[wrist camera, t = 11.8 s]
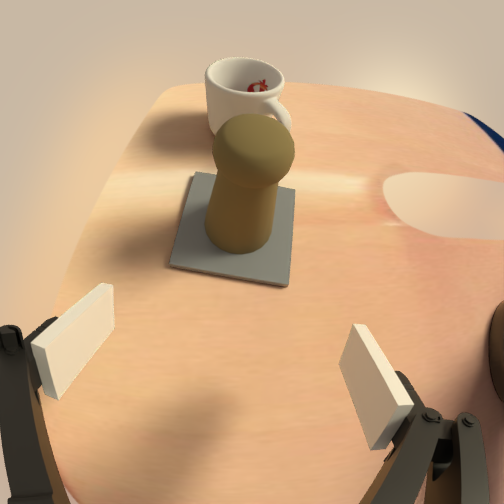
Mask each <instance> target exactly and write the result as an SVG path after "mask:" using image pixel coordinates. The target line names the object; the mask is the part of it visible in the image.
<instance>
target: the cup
mask: <svg viewBox="0 0 504 504" xmlns="http://www.w3.org/2000/svg"><path fill="white" fill-rule="evenodd" d="M284 84H285V80H284V77H283V75H282V73H281V72H280V71H279V70H278V69H277V68H275V67H274V66H272V65H270V64H268V63H266V62H264V61H261V60H257V59H252V58H246V57H231V58H225V59H221V60H218V61H216V62H214V63H212V64H211V65H210V66H209V67H208V68H207V70H206V72H205V86H206V99H207V112H208V122H209V126H210V129H211V131H212V132H213V134H214V135H216V133H217V131H218V130H219V129H220V127H221V126H222V125H223V124H224V123H225V122H226V121H227V120H229V119H231V118H232V117H234V116H238V115H241V114H252V113H254V114H260V115H265V116H268V117H271V118H272V115H274V116H275V117H276V119H277V121H278V122H280V123H282V124H283V125H284V126H285V127H286V128H287V129H288V131H289V133H290V130H291V117H290V115H289V113H288V111H287V110H286V109H285V107H284V106H283V105H282V104H281V103H280V102H278V100H279V97H280V95H281V93H282V90H283V88H284Z"/></svg>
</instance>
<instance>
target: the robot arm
mask: <svg viewBox="0 0 504 504" xmlns="http://www.w3.org/2000/svg"><path fill="white" fill-rule="evenodd" d="M114 329H115V324H114V297H113V285H111V284H106V283H102V282H101V283H100V284H99V285H98V286H96V287H95V288H94V289H93V290H91V291H90V292H89V293H88V294H87V295H85V296H84V297H83V298H82V299H80V300H79V301H78V302H77V303H76V304H74V305H73V306H72V307H71V308H70V309H68V310H67V311H66V312H65V313H64V314H63V315H61V316H60V317H56V316H55V317H53V318H50V319H48V320H46V321H45V322H44V323H43V324H41V326H39V327H38V328H37V329H36V331H33V332H32V333H31V334H30V335H29V336H27V337H26V338H25V339H24V340H23V336H22V332H21V330H20V328H19V327H18V326H15V325H5V326H2V327H0V431H1V440H2V448H3V455H4V461H5V467H6V471H7V476H8V482H9V486H10V490H11V498H8V504H70V501H69V499H68V496H67V493H66V491H65V488H64V485H63V483H62V480H61V477H60V474H59V471H58V468H57V465H56V462H55V459H54V455H53V452H52V448H51V445H50V441H49V437H48V433H47V429H46V425H45V421H44V416H43V412H42V407H41V402H40V396H39V393H38V388H39V387H40V386H41V385H42V387H43V390H44V393H45V395H48V396H50V397H52V398H54V399H57V400H59V399H60V398H61V396H62V395H63V394H64V392H65V391H66V390H67V388H68V387H69V386H70V384H71V383H72V382H73V380H74V379H75V378H76V377H77V375H78V374H79V373H80V371H81V370H82V369H83V367H84V366H85V365H86V364H87V362H88V361H89V360H90V358H91V357H92V356H93V355H94V353H95V352H96V351H97V350H98V348H99V347H100V346H101V345H102V343H103V342H104V341H105V340H106V338H107V337H108V336H109V335H110V333H111V332H112V331H113V330H114ZM489 357H490V368H491V374H492V378H493V382H494V386H495V389H496V391H497V393H498V395H499V397H500V399H501V400H502V401H503V403H504V301H502V302H501V303H500V305H499V306H498V308H497V310H496V312H495V314H494V317H493V321H492V325H491V331H490V341H489ZM339 366H340V369H341V372H342V374H343V377H344V379H345V382H346V385H347V387H348V390H349V393H350V395H351V398H352V401H353V403H354V406H355V409H356V412H357V414H358V417H359V420H360V423H361V426H362V428H363V431H364V434H365V437H366V440H367V443H368V445H369V448H370V450H380V449H386V447H387V446H388V445H389V443H390V442H391V440H392V442H393V444H394V448H393V449H392V450H391V452H390V453H389V454H388V456H387V457H386V458H385V460H384V462H385V463H384V464H383V466H382V468H381V470H380V471H379V473H378V475H377V476H376V478H375V480H374V481H373V483H372V484H371V486H370V488H369V489H368V491H367V492H366V494H365V495H364V497H363V498H362V500H361V501H360V503H359V504H414V502H415V500H416V497H417V495H418V493H419V491H420V488H421V486H422V483H423V481H424V478H425V476H426V473H427V482H426V492H425V501H424V504H490V502H489V486H488V474H487V465H486V457H485V450H484V443H483V437H482V432H481V426H480V423H479V420H478V419H477V418H476V417H475V416H473V415H472V414H469V413H461V414H459V415H458V417H457V418H456V419H455V421H452V420H444V419H443V418H442V416H441V414H440V413H439V412H438V411H436V410H434V409H432V408H428V407H427V408H426V407H425V406H424V404H423V403H422V401H421V399H420V398H419V396H418V394H417V393H416V391H414V388H413V386H412V385H411V383H410V382H409V380H408V378H407V377H406V376H405V375H404V374H402V373H401V372H400V371H394V370H393V368H392V366H391V365H390V363H389V361H388V360H387V358H386V357H385V355H384V353H383V352H382V350H381V349H380V347H379V345H378V344H377V342H376V341H375V339H374V338H373V336H372V334H371V333H370V331H369V330H368V328H367V327H366V325H362V324H353V325H352V328H351V331H350V334H349V337H348V340H347V343H346V345H345V348H344V351H343V354H342V357H341V359H340V362H339Z"/></svg>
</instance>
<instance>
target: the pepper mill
mask: <svg viewBox="0 0 504 504" xmlns="http://www.w3.org/2000/svg"><path fill="white" fill-rule="evenodd" d="M294 153H295V150H294V141H293V139H292V137H291V135H290V133H289V131H288V129H287V128H286V127H285V126H284V125H283V124H282V123H280V122H278V121H277V120H275V119H273V118H271V117H268V116H265V115H260V114H254V113H252V114H241V115H238V116H234V117H232V118H231V119H229V120H227V121H226V122H225V123H224V124H223V125H222V126H221V127H220V129H219V130H218V131H217V133H216V135H215V138H214V143H213V156H214V160H215V164H216V167H217V169H218V172H217V175H216V179H215V183H214V186H213V190H212V193H211V197H210V201H209V204H208V208H207V212H206V216H205V222H204V226H205V230H206V234H207V236H208V237H209V239H210V240H211V242H212V243H213V244H214V245H216V246H217V247H218V248H219V249H221V250H224V251H226V252H228V253H232V254H241V255H242V254H247V253H252V252H254V251H256V250H258V249H260V248H262V247H263V246H264V244H265V243H266V242H267V241H268V240H269V237H270V235H271V232H272V226H273V219H274V211H275V204H276V196H277V189H278V182H279V181H280V180H281V179H282V178H283V177H284V176H285V175H286V174H287V173H288V172H289V169H290V167H291V165H292V162H293V160H294Z"/></svg>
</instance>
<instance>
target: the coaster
mask: <svg viewBox="0 0 504 504" xmlns="http://www.w3.org/2000/svg"><path fill="white" fill-rule="evenodd" d="M215 179H216V175H215V174H208V173H202V172H195V175H194V178H193V181H192V184H191V187H190V191H189V194H188V197H187V201H186V204H185V207H184V211H183V214H182V218H181V221H180V225H179V228H178V232H177V235H176V239H175V243H174V246H173V250H172V254H171V258H170V261H169V266H170V267H175V268H180V269H186V270H191V271H197V272H202V273H208V274H213V275H219V276H225V277H230V278H236V279H242V280H248V281H254V282H260V283H266V284H272V285H278V286H284V287H287V286H288V285H289V276H290V263H291V250H292V236H293V221H294V205H295V189H290V188H285V187H280V186H278V189H277V196H276V204H275V211H274V219H273V226H272V232H271V235H270V237H269V240H268V241H267V242H266V243H265V244H264V246H263V247H262V248H260V249H258V250H256V251H254V252H252V253H247V254H242V255H241V254H232V253H228V252H226V251H224V250H221V249H219V248H218V247H217V246H216V245H214V244H213V243H212V242H211V240H210V239H209V237H208V236H207V234H206V230H205V226H204V222H205V216H206V212H207V208H208V204H209V201H210V197H211V193H212V190H213V186H214V183H215Z"/></svg>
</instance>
